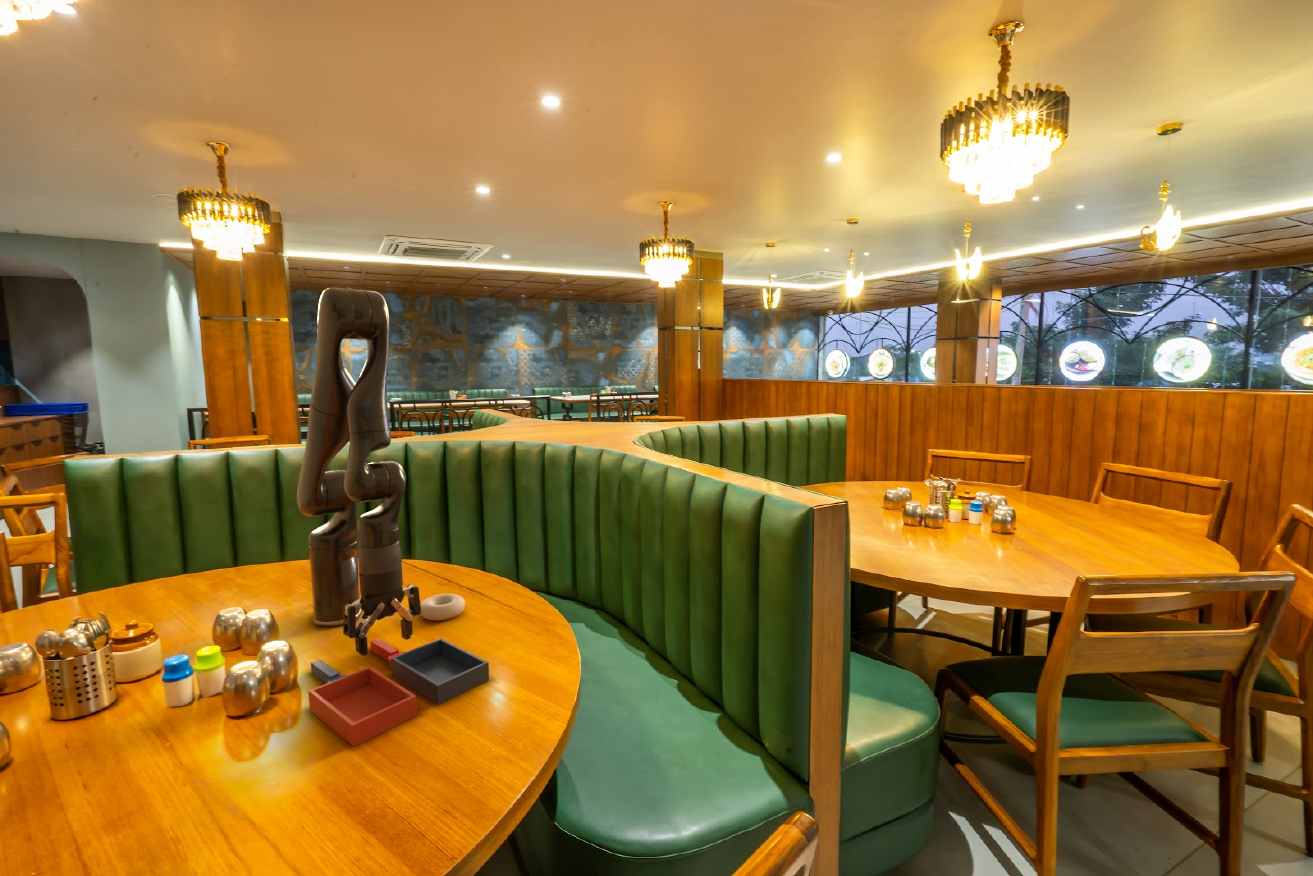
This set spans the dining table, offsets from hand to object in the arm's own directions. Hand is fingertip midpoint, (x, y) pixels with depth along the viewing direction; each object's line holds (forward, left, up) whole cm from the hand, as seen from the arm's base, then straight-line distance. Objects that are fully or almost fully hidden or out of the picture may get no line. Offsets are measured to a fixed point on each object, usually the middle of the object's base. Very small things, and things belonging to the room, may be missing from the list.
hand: (385, 646), depth 116 cm
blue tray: (+16, +2, -2) cm, 16 cm away
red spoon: (+1, 0, -2) cm, 2 cm away
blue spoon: (+1, -11, -2) cm, 11 cm away
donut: (-9, +18, -2) cm, 20 cm away
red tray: (+16, -12, -2) cm, 20 cm away
